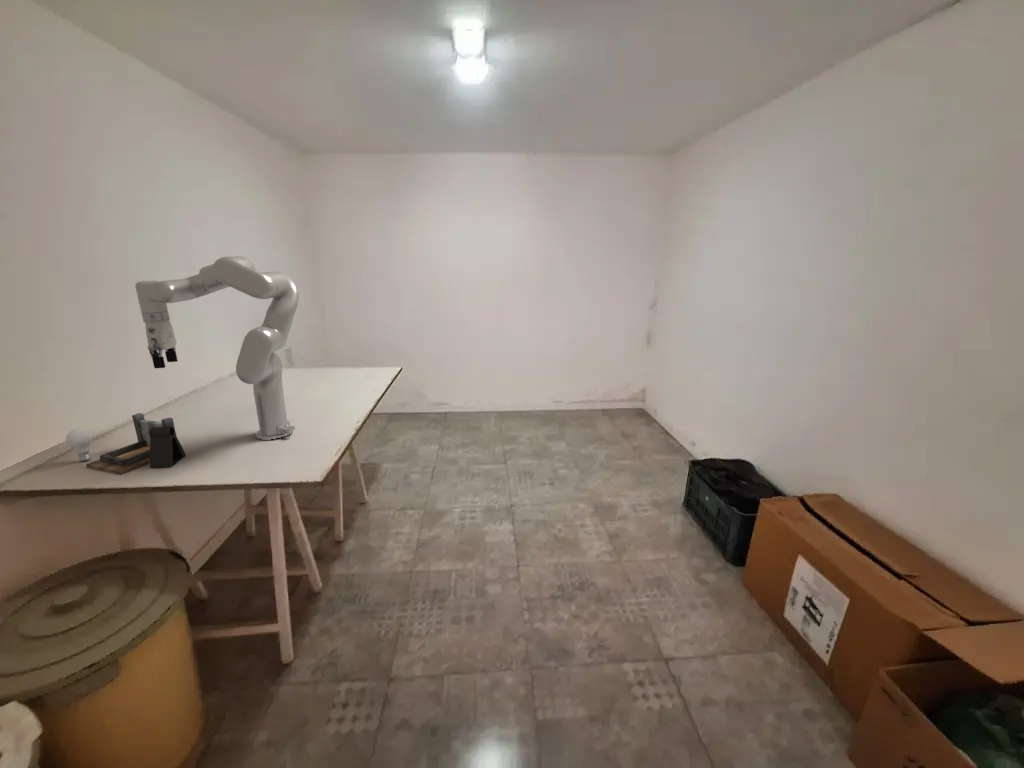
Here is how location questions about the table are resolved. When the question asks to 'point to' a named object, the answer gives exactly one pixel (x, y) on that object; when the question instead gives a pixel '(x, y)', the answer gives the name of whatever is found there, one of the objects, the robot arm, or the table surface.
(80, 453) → the lightbulb
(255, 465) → the table surface
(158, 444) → the phone stand
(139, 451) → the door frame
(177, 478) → the table surface
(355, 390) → the table surface
